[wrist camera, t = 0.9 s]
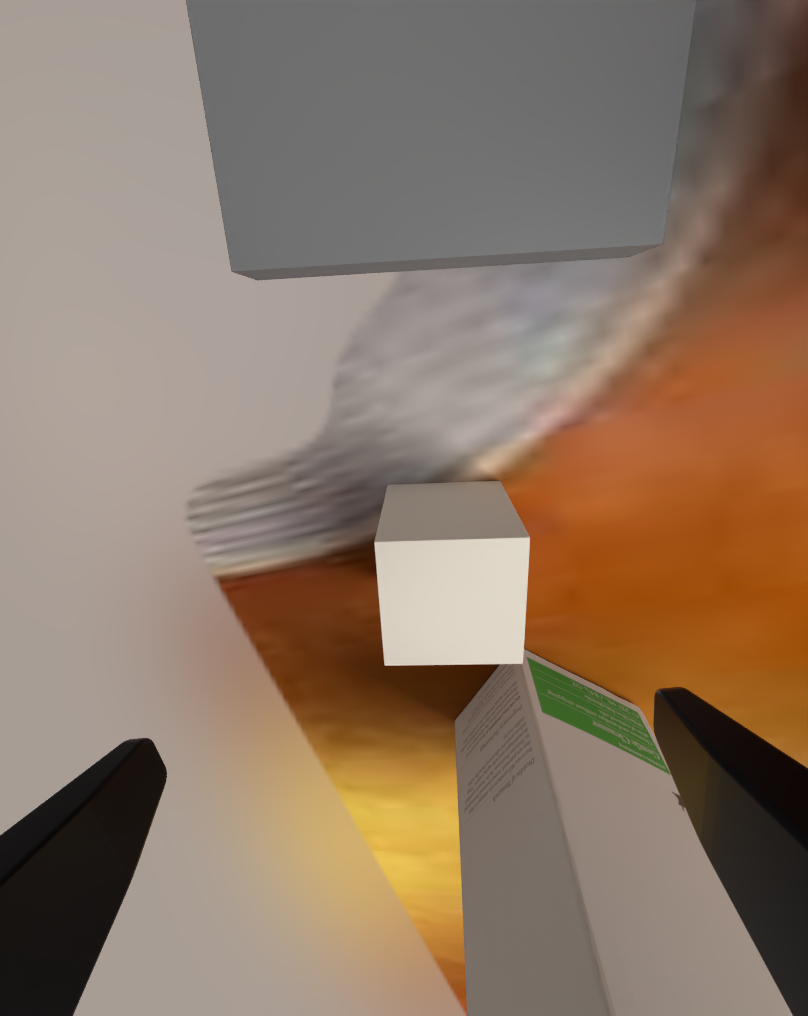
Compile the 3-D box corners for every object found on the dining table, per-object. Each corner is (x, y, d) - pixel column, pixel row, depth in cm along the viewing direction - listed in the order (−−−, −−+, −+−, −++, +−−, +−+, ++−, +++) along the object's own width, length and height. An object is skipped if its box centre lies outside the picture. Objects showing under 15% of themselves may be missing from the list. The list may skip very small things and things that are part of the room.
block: (499, 480, 20) (530, 537, 14) (497, 578, 22) (523, 663, 16) (387, 484, 20) (374, 542, 15) (394, 581, 22) (384, 665, 16)
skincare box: (640, 704, 24) (975, 1270, 9) (566, 779, 26) (745, 1331, 12) (508, 638, 23) (661, 1170, 8) (442, 723, 25) (471, 1259, 10)
